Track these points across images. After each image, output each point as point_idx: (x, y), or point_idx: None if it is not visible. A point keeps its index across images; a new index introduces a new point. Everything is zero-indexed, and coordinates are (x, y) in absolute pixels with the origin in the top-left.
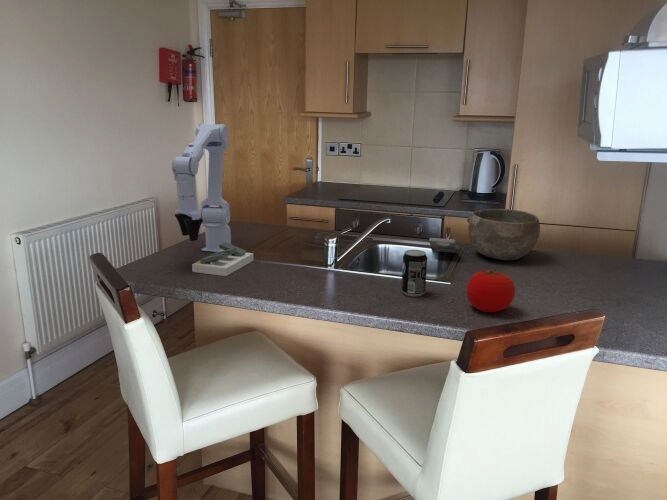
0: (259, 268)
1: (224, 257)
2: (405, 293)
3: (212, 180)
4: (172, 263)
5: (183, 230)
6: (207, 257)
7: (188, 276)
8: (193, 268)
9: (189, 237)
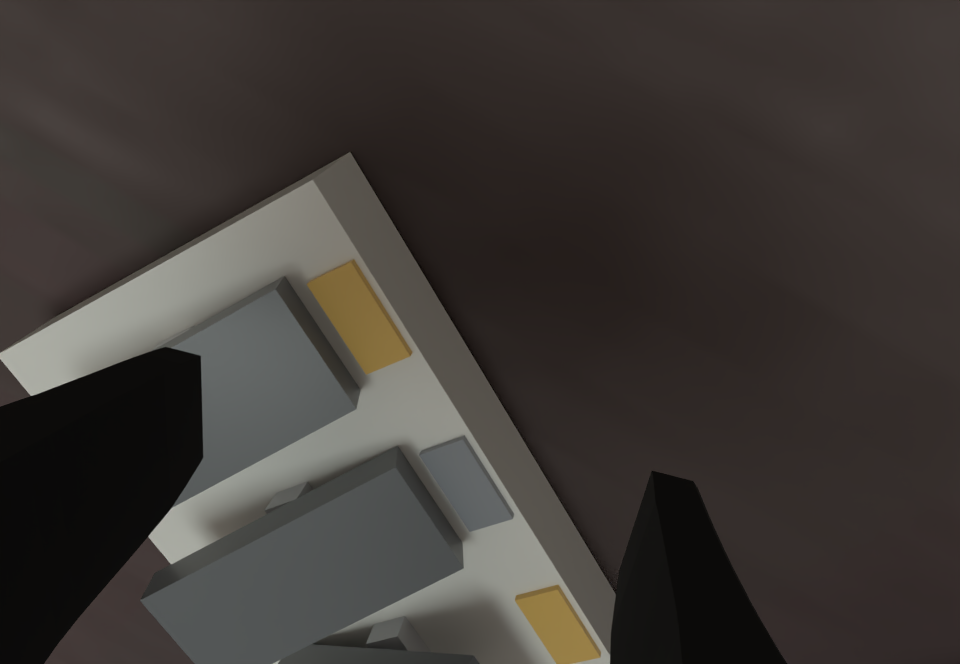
0: (137, 597)
1: None
2: None
3: None
4: (874, 150)
5: (646, 564)
6: (235, 376)
7: (220, 25)
8: (320, 171)
9: (149, 372)
